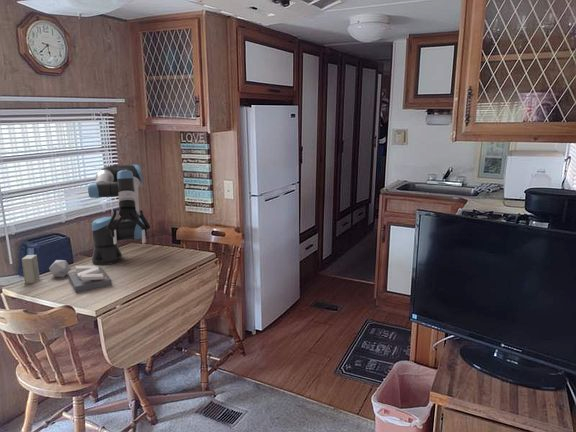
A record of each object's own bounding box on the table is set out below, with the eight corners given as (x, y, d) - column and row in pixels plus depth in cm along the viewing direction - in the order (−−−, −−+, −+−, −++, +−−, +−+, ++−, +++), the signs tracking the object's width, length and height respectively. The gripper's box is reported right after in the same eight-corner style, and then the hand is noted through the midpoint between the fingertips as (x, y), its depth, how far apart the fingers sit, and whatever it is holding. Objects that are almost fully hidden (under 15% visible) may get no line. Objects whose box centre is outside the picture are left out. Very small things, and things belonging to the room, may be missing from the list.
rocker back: (75, 268, 207) (75, 265, 207) (95, 268, 212) (95, 265, 212) (76, 271, 203) (76, 268, 203) (97, 270, 208) (97, 267, 208)
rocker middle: (77, 276, 201) (76, 273, 201) (97, 269, 206) (97, 266, 206) (79, 278, 198) (78, 276, 197) (99, 271, 202) (98, 269, 202)
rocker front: (80, 277, 195) (80, 274, 195) (101, 276, 201) (101, 273, 200) (81, 280, 192) (82, 277, 192) (103, 279, 197) (103, 276, 197)
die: (55, 281, 206) (66, 264, 206) (42, 271, 207) (53, 254, 208) (66, 281, 214) (77, 265, 214) (53, 272, 215) (64, 255, 216)
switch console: (68, 279, 207) (67, 271, 206) (102, 272, 215) (101, 265, 215) (75, 293, 190) (74, 285, 189) (111, 285, 198) (111, 277, 198)
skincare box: (30, 279, 208) (27, 254, 205) (40, 278, 208) (37, 254, 206) (24, 283, 202) (20, 258, 199) (34, 283, 202) (31, 258, 200)
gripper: (101, 198, 204) (104, 242, 199) (154, 199, 218) (158, 241, 214) (98, 202, 209) (100, 245, 205) (149, 204, 224) (153, 244, 220)
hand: (129, 243), depth 209 cm, fingers open, 13 cm apart
